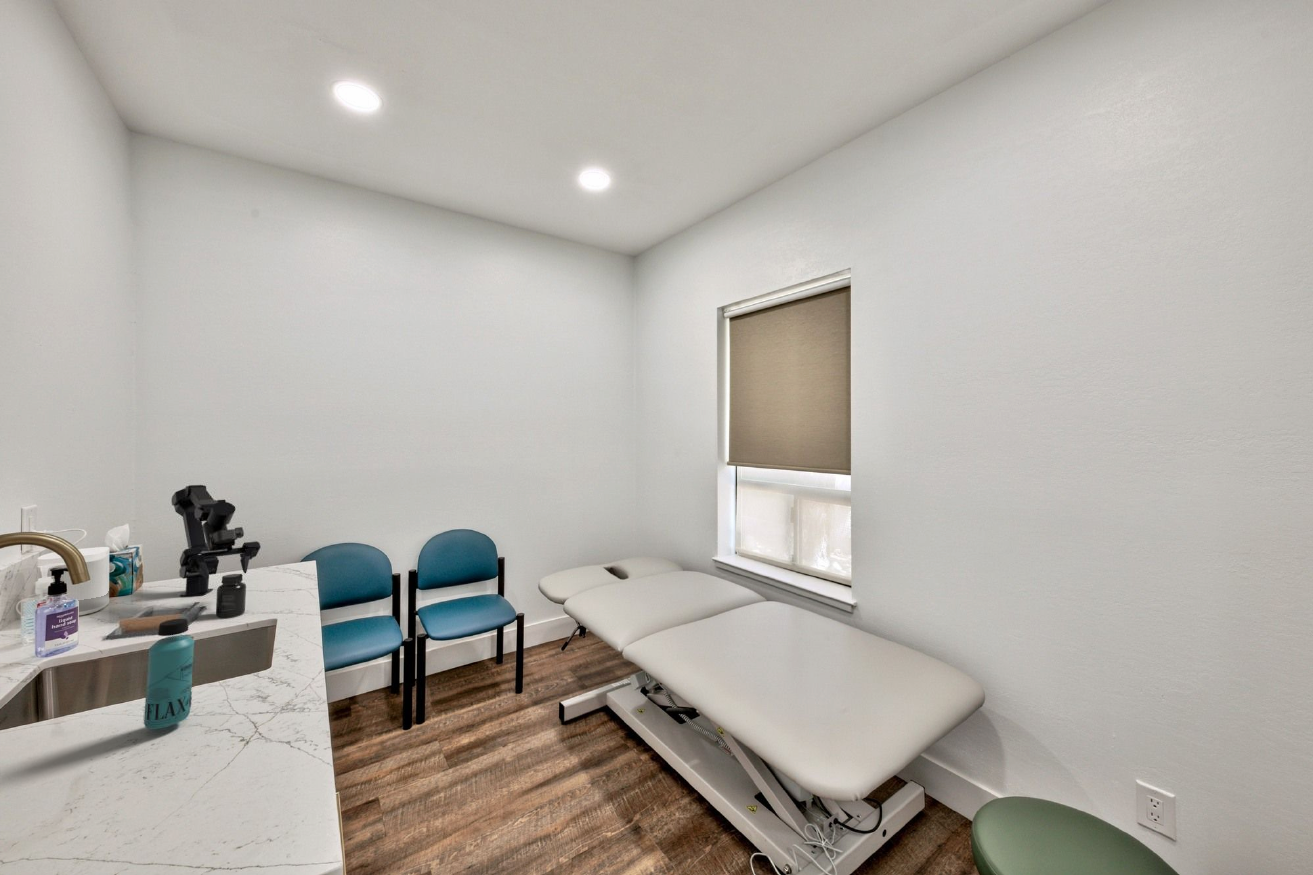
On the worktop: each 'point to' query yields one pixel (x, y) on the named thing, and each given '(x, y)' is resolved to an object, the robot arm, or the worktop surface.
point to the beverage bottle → (169, 676)
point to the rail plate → (153, 621)
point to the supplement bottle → (231, 596)
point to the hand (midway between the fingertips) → (227, 575)
